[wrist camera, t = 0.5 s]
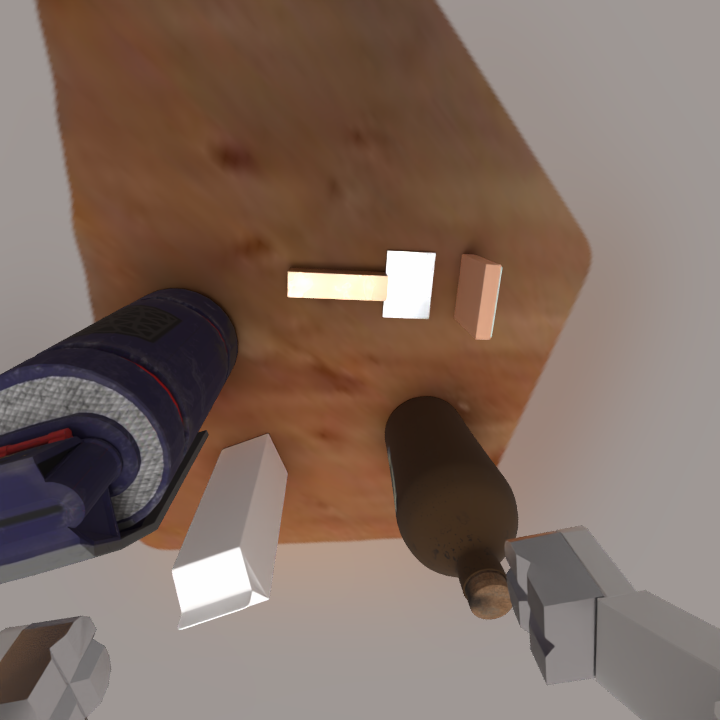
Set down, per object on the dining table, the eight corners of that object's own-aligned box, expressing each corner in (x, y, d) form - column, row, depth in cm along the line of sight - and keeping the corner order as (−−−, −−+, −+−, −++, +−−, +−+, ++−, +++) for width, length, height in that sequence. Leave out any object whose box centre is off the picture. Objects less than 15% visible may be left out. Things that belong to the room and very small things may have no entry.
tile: (462, 253, 49) (486, 264, 41) (476, 254, 49) (503, 265, 42) (453, 318, 51) (475, 339, 44) (468, 318, 51) (491, 339, 44)
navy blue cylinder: (107, 303, 48) (-204, 456, 20) (216, 271, 48) (55, 380, 20) (162, 417, 53) (-27, 671, 25) (261, 389, 53) (185, 614, 24)
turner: (290, 245, 48) (288, 248, 45) (433, 252, 49) (440, 255, 46) (290, 311, 50) (287, 318, 47) (427, 316, 51) (432, 324, 48)
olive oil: (440, 374, 53) (528, 515, 30) (481, 441, 57) (590, 615, 33) (362, 420, 55) (388, 590, 31) (407, 483, 58) (461, 680, 35)
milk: (221, 448, 55) (154, 601, 34) (269, 432, 54) (231, 576, 34) (243, 489, 57) (192, 657, 36) (289, 473, 56) (265, 633, 36)
